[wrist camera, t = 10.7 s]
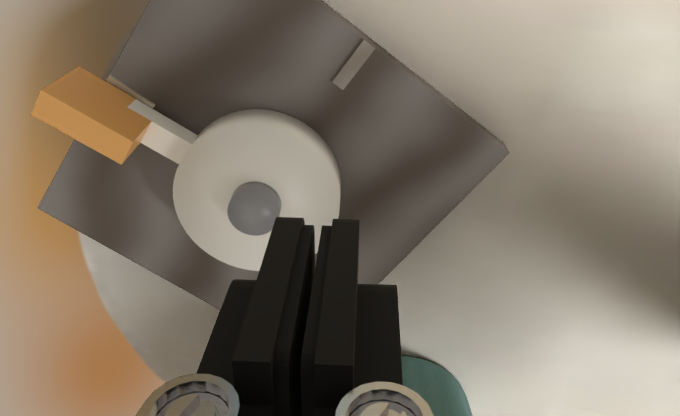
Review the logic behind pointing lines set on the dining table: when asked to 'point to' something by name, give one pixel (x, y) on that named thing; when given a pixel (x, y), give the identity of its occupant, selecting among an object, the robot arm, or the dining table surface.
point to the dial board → (285, 97)
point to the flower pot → (435, 387)
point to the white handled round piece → (209, 163)
